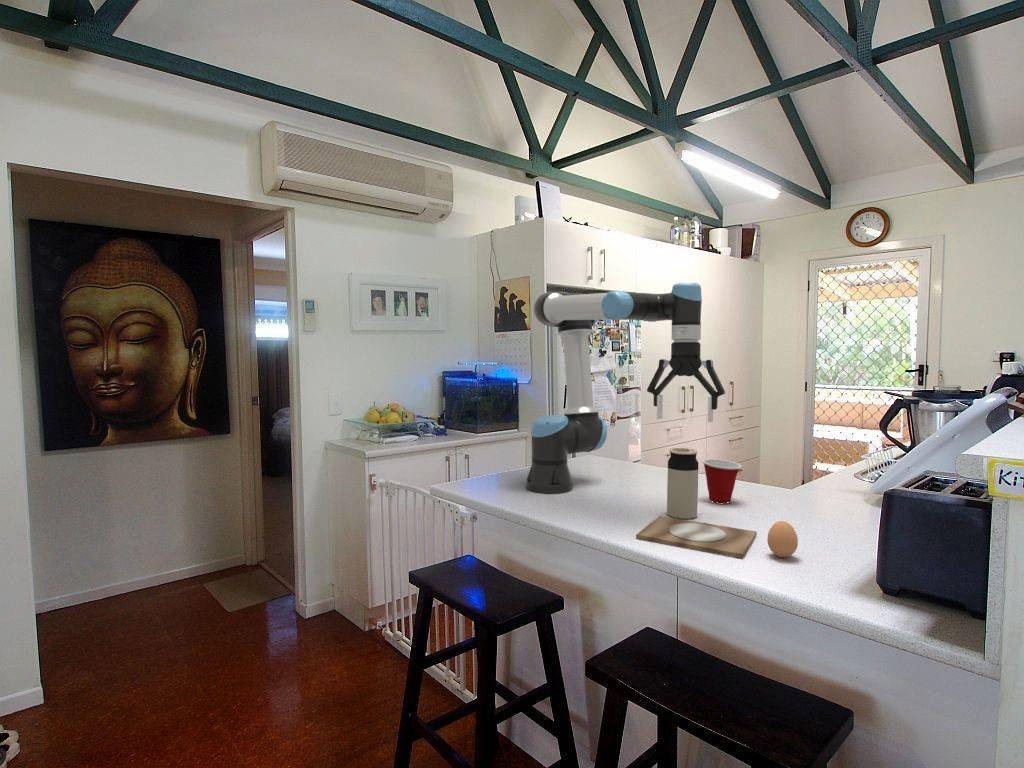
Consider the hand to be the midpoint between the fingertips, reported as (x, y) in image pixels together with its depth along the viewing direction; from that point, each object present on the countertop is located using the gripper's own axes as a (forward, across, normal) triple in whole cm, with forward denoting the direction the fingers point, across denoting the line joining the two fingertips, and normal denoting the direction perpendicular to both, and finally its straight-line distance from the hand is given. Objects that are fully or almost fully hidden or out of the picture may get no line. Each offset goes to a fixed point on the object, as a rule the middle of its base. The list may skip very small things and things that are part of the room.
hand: (684, 420), depth 151 cm
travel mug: (+26, 0, 0) cm, 26 cm away
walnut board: (+26, +8, -16) cm, 32 cm away
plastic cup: (+26, +6, +20) cm, 34 cm away
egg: (+26, +27, -19) cm, 42 cm away
